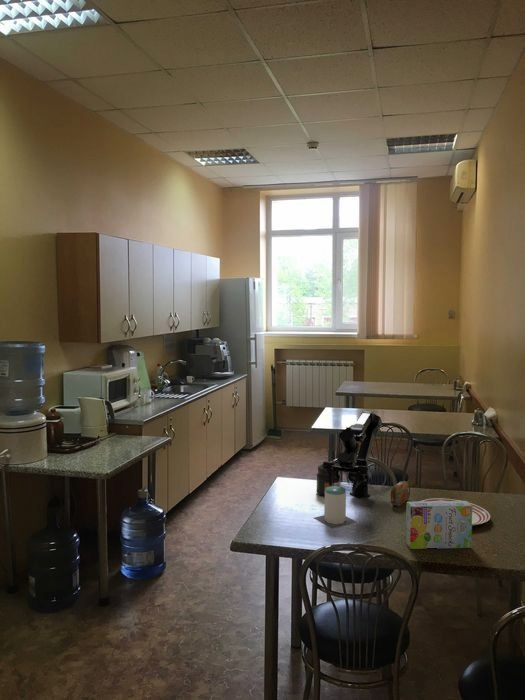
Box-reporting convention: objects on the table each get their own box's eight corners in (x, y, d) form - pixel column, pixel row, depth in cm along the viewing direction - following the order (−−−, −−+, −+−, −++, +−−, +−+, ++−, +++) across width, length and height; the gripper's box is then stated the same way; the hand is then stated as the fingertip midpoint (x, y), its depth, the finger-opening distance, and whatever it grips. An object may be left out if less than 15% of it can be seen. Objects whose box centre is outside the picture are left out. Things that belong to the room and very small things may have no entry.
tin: (396, 509, 228) (396, 488, 228) (388, 507, 230) (389, 487, 229) (410, 498, 240) (411, 479, 239) (403, 497, 242) (404, 478, 241)
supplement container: (342, 498, 241) (342, 470, 240) (317, 498, 240) (318, 470, 239) (338, 490, 251) (339, 463, 250) (315, 490, 251) (315, 463, 250)
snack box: (465, 542, 197) (466, 500, 195) (471, 549, 191) (473, 505, 190) (405, 542, 196) (406, 500, 195) (409, 549, 190) (411, 506, 189)
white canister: (328, 515, 220) (329, 485, 219) (347, 518, 216) (348, 487, 215) (322, 521, 213) (322, 490, 212) (341, 525, 210) (341, 493, 209)
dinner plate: (485, 509, 229) (486, 501, 229) (494, 535, 203) (494, 526, 202) (416, 502, 236) (416, 494, 236) (415, 527, 210) (415, 518, 210)
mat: (312, 519, 217) (313, 517, 217) (337, 513, 223) (337, 512, 223) (332, 529, 207) (332, 528, 207) (357, 523, 213) (357, 522, 213)
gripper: (323, 441, 228) (313, 475, 219) (369, 446, 220) (360, 482, 211) (330, 455, 236) (320, 489, 227) (373, 461, 228) (366, 496, 219)
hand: (341, 489), depth 221 cm, fingers open, 9 cm apart
